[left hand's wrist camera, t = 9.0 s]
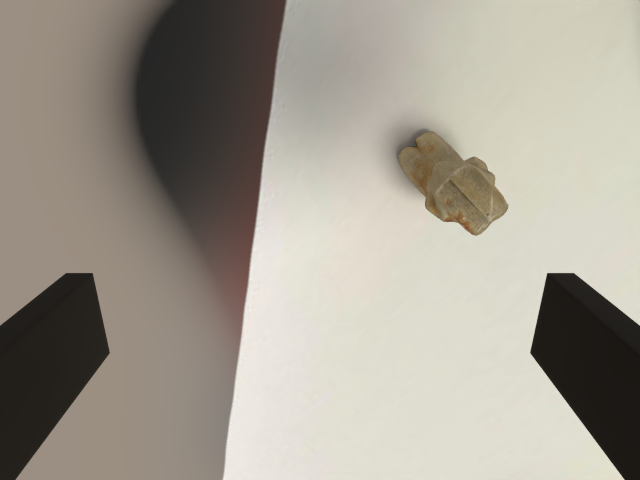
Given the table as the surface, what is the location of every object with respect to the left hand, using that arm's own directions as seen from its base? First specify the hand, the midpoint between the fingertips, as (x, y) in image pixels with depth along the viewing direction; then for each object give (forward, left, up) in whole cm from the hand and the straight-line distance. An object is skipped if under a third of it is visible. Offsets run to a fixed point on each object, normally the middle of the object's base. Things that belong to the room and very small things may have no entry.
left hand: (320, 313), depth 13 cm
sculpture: (0, +12, -33) cm, 35 cm away
